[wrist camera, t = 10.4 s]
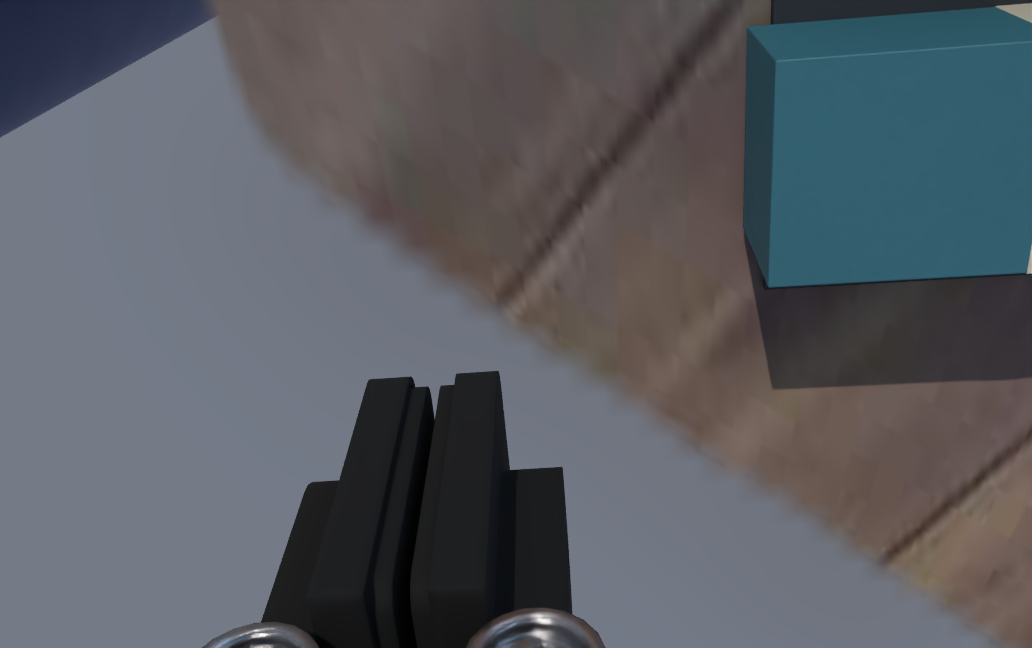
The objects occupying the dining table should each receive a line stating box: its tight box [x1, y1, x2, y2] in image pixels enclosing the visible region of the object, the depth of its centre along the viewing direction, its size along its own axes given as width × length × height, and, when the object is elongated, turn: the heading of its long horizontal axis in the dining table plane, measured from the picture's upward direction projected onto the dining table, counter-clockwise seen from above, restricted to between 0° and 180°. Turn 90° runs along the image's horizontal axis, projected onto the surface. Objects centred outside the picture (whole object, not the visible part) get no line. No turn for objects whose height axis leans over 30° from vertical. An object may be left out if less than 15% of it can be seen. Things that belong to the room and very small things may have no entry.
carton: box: [743, 3, 1032, 288], centre depth 30 cm, size 5×7×12 cm
